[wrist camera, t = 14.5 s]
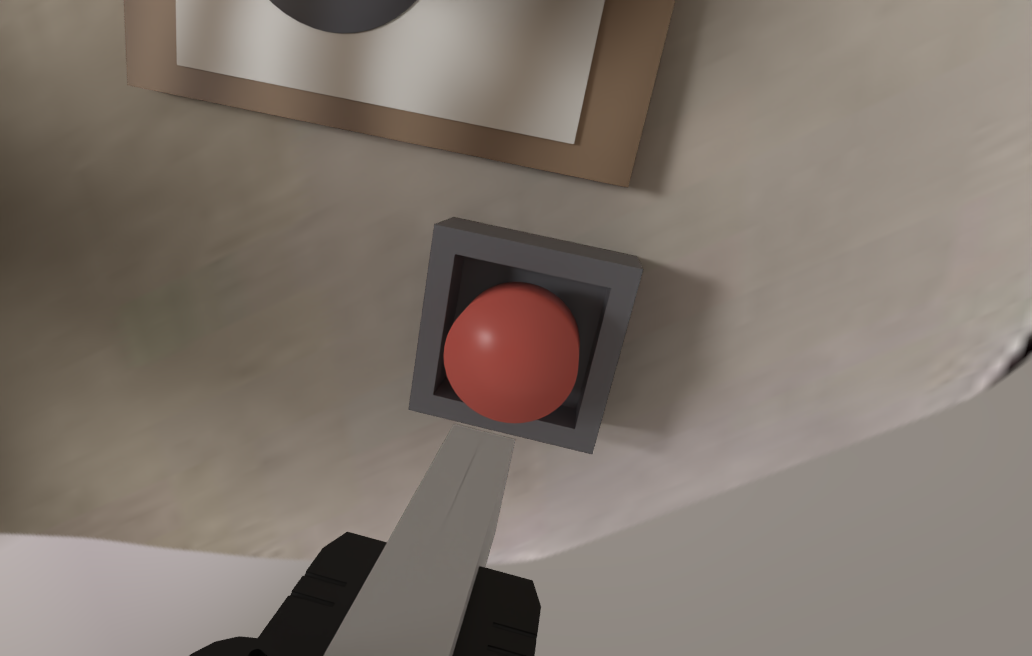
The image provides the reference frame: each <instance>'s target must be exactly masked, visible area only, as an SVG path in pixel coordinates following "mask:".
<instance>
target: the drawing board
mask: <svg viewBox="0 0 1032 656" xmlns="http://www.w3.org/2000/svg"><path fill="white" fill-rule="evenodd" d="M674 4H675V0H124V18H125V40H126V62H127V84H128V85H129V86H134V87H139V88H144V89H149V90H154V91H159V92H164V93H168V94H173V95H178V96H183V97H188V98H193V99H198V100H203V101H208V102H212V103H217V104H222V105H227V106H232V107H237V108H242V109H247V110H252V111H256V112H261V113H266V114H271V115H276V116H281V117H286V118H291V119H296V120H300V121H305V122H310V123H315V124H320V125H325V126H330V127H335V128H340V129H344V130H349V131H354V132H359V133H364V134H369V135H374V136H379V137H384V138H388V139H393V140H398V141H403V142H408V143H413V144H418V145H423V146H428V147H432V148H437V149H442V150H447V151H452V152H457V153H462V154H467V155H472V156H476V157H481V158H486V159H491V160H496V161H501V162H506V163H511V164H516V165H520V166H525V167H530V168H535V169H540V170H545V171H550V172H555V173H560V174H564V175H569V176H574V177H579V178H584V179H589V180H594V181H599V182H604V183H608V184H613V185H618V186H623V187H628V186H629V182H630V178H631V174H632V170H633V166H634V162H635V158H636V154H637V150H638V146H639V142H640V138H641V134H642V131H643V127H644V123H645V119H646V115H647V111H648V107H649V103H650V99H651V95H652V91H653V87H654V83H655V79H656V75H657V71H658V67H659V63H660V59H661V55H662V51H663V47H664V43H665V39H666V36H667V32H668V28H669V24H670V20H671V16H672V12H673V8H674Z"/></svg>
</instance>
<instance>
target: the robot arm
mask: <svg viewBox="0 0 1032 656" xmlns="http://www.w3.org/2000/svg"><path fill="white" fill-rule="evenodd" d="M514 443H515V439H512V438H508V437H505V436H501V435H497V434H493V433H489V432H485V431H481V430H477V429H473V428H469V427H465V426H461V425H457V424H454V425H453V426H452V428H451V430H450V432H449V433H448V435H447V437H446V439H445V441H444V442H443V444H442V446H441V448H440V449H439V451H438V453H437V455H436V457H435V458H434V460H433V462H432V464H431V465H430V467H429V469H428V471H427V473H426V474H425V476H424V478H423V480H422V481H421V483H420V485H419V487H418V489H417V490H416V492H415V494H414V496H413V497H412V499H411V501H410V503H409V505H408V506H407V508H406V510H405V512H404V513H403V515H402V517H401V519H400V521H399V522H398V524H397V526H396V528H395V529H394V531H393V533H392V535H391V537H390V538H389V540H388V542H383V541H379V540H376V539H372V538H368V537H365V536H361V535H357V534H354V533H350V532H346V533H345V534H343V535H342V536H340V537H339V538H337V539H336V540H334V541H333V542H331V543H330V544H328V545H327V546H325V547H324V548H323V549H322V550H321V551H320V553H319V554H318V555H317V557H316V558H315V560H314V561H313V562H312V564H311V565H310V567H309V568H308V569H307V571H306V574H305V576H302V578H301V579H300V580H299V582H298V583H297V584H296V586H295V587H294V589H293V590H292V593H291V595H290V596H288V597H287V598H286V600H285V601H284V603H283V604H282V605H281V607H280V608H279V609H278V611H277V612H276V614H275V615H274V616H273V618H272V619H271V620H270V622H269V623H268V625H267V626H266V627H265V629H264V630H263V632H262V633H261V634H260V636H259V637H258V638H249V637H234V638H230V639H226V640H221V641H216V642H214V643H212V644H210V645H208V646H206V647H204V648H202V649H200V650H198V651H196V652H194V653H192V654H191V655H190V656H534V654H535V647H536V638H537V632H538V625H539V617H540V609H541V606H540V602H539V599H538V596H537V593H536V590H535V587H534V583H533V581H532V580H529V579H525V578H521V577H518V576H514V575H510V574H507V573H503V572H499V571H496V570H492V569H488V568H485V566H486V563H487V559H488V556H489V552H490V549H491V545H492V542H493V538H494V535H495V531H496V526H497V521H498V517H499V512H500V508H501V503H502V498H503V494H504V489H505V485H506V480H507V475H508V471H509V466H510V462H511V457H512V453H513V448H514Z"/></svg>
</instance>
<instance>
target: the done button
mask: <svg viewBox="0 0 1032 656" xmlns="http://www.w3.org/2000/svg"><path fill="white" fill-rule="evenodd" d="M579 350H580V337H579V330H578V326H577V323H576V321H575V318H574V316H573V315H572V313H571V311H570V310H569V308H568V307H567V306H566V304H565V303H564V302H563V301H562V300H561V299H560V298H559V297H557V296H556V295H555V294H554V293H552V292H550V291H549V290H547V289H545V288H543V287H541V286H538V285H535V284H531V283H526V282H507V283H502V284H498V285H496V286H493V287H490V288H489V289H487V290H485V291H483V292H482V293H481V294H479V295H478V296H477V297H476V298H475V299H474V300H473V301H472V302H471V303H470V304H469V305H468V306H467V308H466V309H465V310H464V311H463V312H462V313H461V314H460V316H459V317H458V318H457V319H456V321H455V322H454V323H453V325H452V327H451V329H450V330H449V333H448V335H447V338H446V342H445V346H444V365H445V371H446V374H447V377H448V380H449V382H450V384H451V386H452V388H453V389H454V391H455V393H456V394H457V395H458V396H459V398H460V399H461V400H462V401H463V402H464V403H465V404H466V405H467V406H468V407H470V408H471V409H472V410H474V411H475V412H477V413H479V414H480V415H482V416H484V417H487V418H489V419H492V420H495V421H499V422H505V423H525V422H530V421H534V420H537V419H540V418H542V417H544V416H547V415H548V414H550V413H551V412H553V411H554V410H556V409H557V408H558V407H559V406H560V405H561V404H562V403H563V402H564V401H565V400H566V399H567V397H568V396H569V394H570V393H571V391H572V389H573V387H574V384H575V381H576V378H577V373H578V364H579Z"/></svg>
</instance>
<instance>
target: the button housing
mask: <svg viewBox="0 0 1032 656" xmlns="http://www.w3.org/2000/svg"><path fill="white" fill-rule="evenodd" d="M642 272H643V268H642V266H641V264H640V262H639V259H638V257H637V256H633V255H628V254H624V253H619V252H614V251H610V250H605V249H600V248H596V247H591V246H586V245H582V244H577V243H572V242H568V241H563V240H558V239H554V238H549V237H544V236H540V235H535V234H530V233H526V232H521V231H516V230H512V229H507V228H502V227H498V226H493V225H488V224H484V223H479V222H474V221H470V220H465V219H460V218H456V217H452V218H449V219H447V220H444V221H442V222H439V223H436V224H434V230H433V238H432V245H431V252H430V259H429V266H428V273H427V281H426V288H425V295H424V302H423V309H422V317H421V324H420V331H419V338H418V345H417V353H416V360H415V367H414V374H413V381H412V389H411V396H410V403H409V410H412V411H416V412H420V413H424V414H428V415H432V416H437V417H441V418H445V419H449V420H453V421H457V422H461V423H465V424H469V425H474V426H478V427H482V428H486V429H490V430H494V431H498V432H502V433H506V434H510V435H515V436H519V437H523V438H527V439H531V440H535V441H539V442H543V443H547V444H552V445H556V446H560V447H564V448H568V449H572V450H576V451H580V452H584V453H589V454H593V450H594V446H595V443H596V439H597V435H598V432H599V428H600V424H601V421H602V417H603V414H604V410H605V406H606V403H607V399H608V395H609V392H610V388H611V385H612V381H613V377H614V374H615V370H616V366H617V363H618V359H619V355H620V352H621V348H622V345H623V341H624V337H625V334H626V330H627V326H628V323H629V319H630V315H631V312H632V308H633V305H634V301H635V297H636V294H637V290H638V286H639V283H640V279H641V276H642ZM507 282H526V283H531V284H535V285H538V286H541V287H543V288H545V289H547V290H549V291H550V292H552V293H554V294H555V295H556V296H557V297H559V298H560V299H561V300H562V301H563V302H564V303H565V304H566V306H567V307H568V308H569V310H570V311H571V313H572V315H573V316H574V318H575V321H576V323H577V326H578V330H579V337H580V350H579V364H578V373H577V378H576V381H575V384H574V387H573V389H572V391H571V393H570V394H569V396H568V397H567V399H566V400H565V401H564V402H563V403H562V404H561V405H560V406H559V407H558V408H557V409H556V410H554V411H553V412H551V413H550V414H548V415H547V416H544V417H542V418H540V419H537V420H534V421H530V422H525V423H505V422H499V421H495V420H492V419H489V418H487V417H484V416H482V415H480V414H479V413H477V412H475V411H474V410H472V409H471V408H470V407H468V406H467V405H466V404H465V403H464V402H463V401H462V400H461V399H460V398H459V396H458V395H457V394H456V393H455V391H454V389H453V388H452V386H451V384H450V382H449V380H448V377H447V374H446V371H445V365H444V346H445V342H446V338H447V335H448V333H449V330H450V329H451V327H452V325H453V323H454V322H455V321H456V319H457V318H458V317H459V316H460V314H461V313H462V312H463V311H464V310H465V309H466V308H467V306H468V305H469V304H470V303H471V302H472V301H473V300H474V299H475V298H476V297H477V296H478V295H479V294H481V293H482V292H483V291H485V290H487V289H489V288H490V287H493V286H496V285H498V284H502V283H507Z"/></svg>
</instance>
